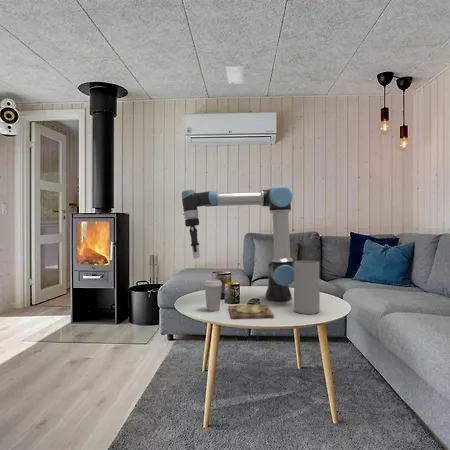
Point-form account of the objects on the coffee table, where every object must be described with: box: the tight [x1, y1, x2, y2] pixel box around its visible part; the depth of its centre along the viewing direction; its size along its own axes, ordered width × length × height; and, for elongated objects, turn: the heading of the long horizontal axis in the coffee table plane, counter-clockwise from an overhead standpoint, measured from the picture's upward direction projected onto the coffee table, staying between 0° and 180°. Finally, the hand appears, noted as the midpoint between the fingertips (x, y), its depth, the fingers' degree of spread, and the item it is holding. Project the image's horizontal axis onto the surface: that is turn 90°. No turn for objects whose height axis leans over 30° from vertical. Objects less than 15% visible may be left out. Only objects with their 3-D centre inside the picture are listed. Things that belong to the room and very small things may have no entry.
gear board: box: [227, 303, 275, 320], centre depth 181 cm, size 20×20×2 cm
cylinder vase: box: [293, 260, 320, 315], centre depth 183 cm, size 12×12×25 cm
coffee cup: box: [203, 279, 223, 312], centre depth 187 cm, size 10×10×15 cm
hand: (196, 257), depth 196 cm, fingers open, 13 cm apart
